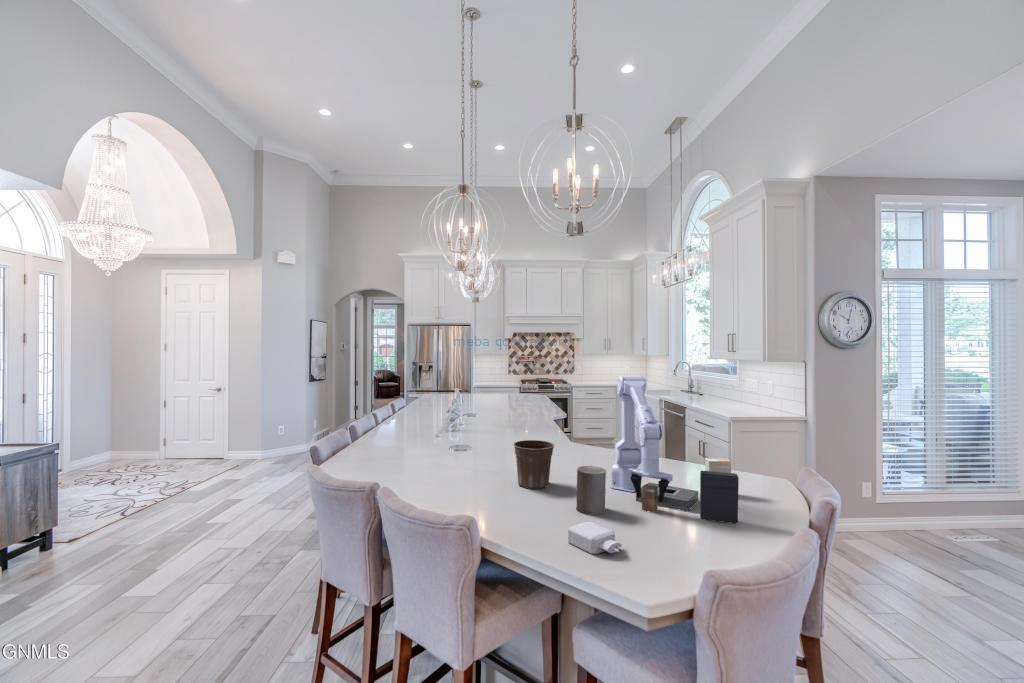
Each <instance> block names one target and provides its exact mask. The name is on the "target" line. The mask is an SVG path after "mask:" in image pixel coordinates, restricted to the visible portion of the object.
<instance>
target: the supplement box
mask: <svg viewBox="0 0 1024 683" xmlns="http://www.w3.org/2000/svg"><path fill="white" fill-rule="evenodd" d="M704 464H705V465H704V468H705V469H704V471H712V472H723V473H732V461H731V460H730V459H728V458H724V457H723V458H722V457H717V458H715V457H714V458H713V457H705V461H704Z"/></svg>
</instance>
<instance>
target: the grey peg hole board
mask: <svg viewBox="0 0 1024 683" xmlns="http://www.w3.org/2000/svg"><path fill="white" fill-rule="evenodd" d="M646 484H650V485H655V486H658V506H659V507H662V508H663V507H664V508H667V507H668V509H672V508H673V510H677V509H680V510H679V511H682V510H684V511H683V512H687V511H688V512H689V511H690V510H691V509H692V508H693V507H694V506H695V505H696V504H697V503H698V502H699V490H693V489H688V488H682V487H676V486H673V485H672V486H671V485H668V486H667V489H666V491H665V494H664V498H663V501H662V502H659V484H658V483H656V482H655V483H654V482H647V483H646ZM637 501H639V502H638V503H642V487H641V497H639V498H637V495H636V494H635V502H637ZM697 501H698V502H697ZM696 502H697V503H696ZM695 503H696V504H695ZM694 504H695V505H694ZM693 505H694V506H693ZM658 506H657V507H658ZM692 506H693V507H692ZM691 507H692V508H691ZM690 508H691V509H690Z"/></svg>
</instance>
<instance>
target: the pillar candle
mask: <svg viewBox="0 0 1024 683" xmlns="http://www.w3.org/2000/svg"><path fill="white" fill-rule="evenodd" d="M606 475H607V469H605V468H603V467H602V466H595V465H582V466H579V467H577V469H576V508H575V509H576V511H577V512H579V513H581V514H585V515H589V514H590V515H592V516H593V515H594V516H595V515H596V514H597V515H602V514H604V513H605V511H606V484H607V483H606V481H607V480H606V479H607V477H606ZM597 515H596V516H597Z"/></svg>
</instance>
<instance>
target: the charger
mask: <svg viewBox="0 0 1024 683" xmlns="http://www.w3.org/2000/svg"><path fill="white" fill-rule="evenodd" d="M567 534H568V535H567V537H568V538H567V542H568V543H569V544H570V545H573V546H575V547H577V548H579V549H581V550H583V551H584V552H587V553H589V554H591V555H596V554H600V553H603V552H607V553H610V554H614V553H617V552H618V553H619V552H620V550H621V551H624V548H623V547H622V544H621V543H620V542H617V541H615V540H616V533H615V531H614V530H611V529H608V528H606V527H604V526H601V525H599V524H597V523H594V522H592V521H590V520H589V521H585V522H581V523H579V524H575V525H572V526H569V528H568V532H567Z"/></svg>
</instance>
